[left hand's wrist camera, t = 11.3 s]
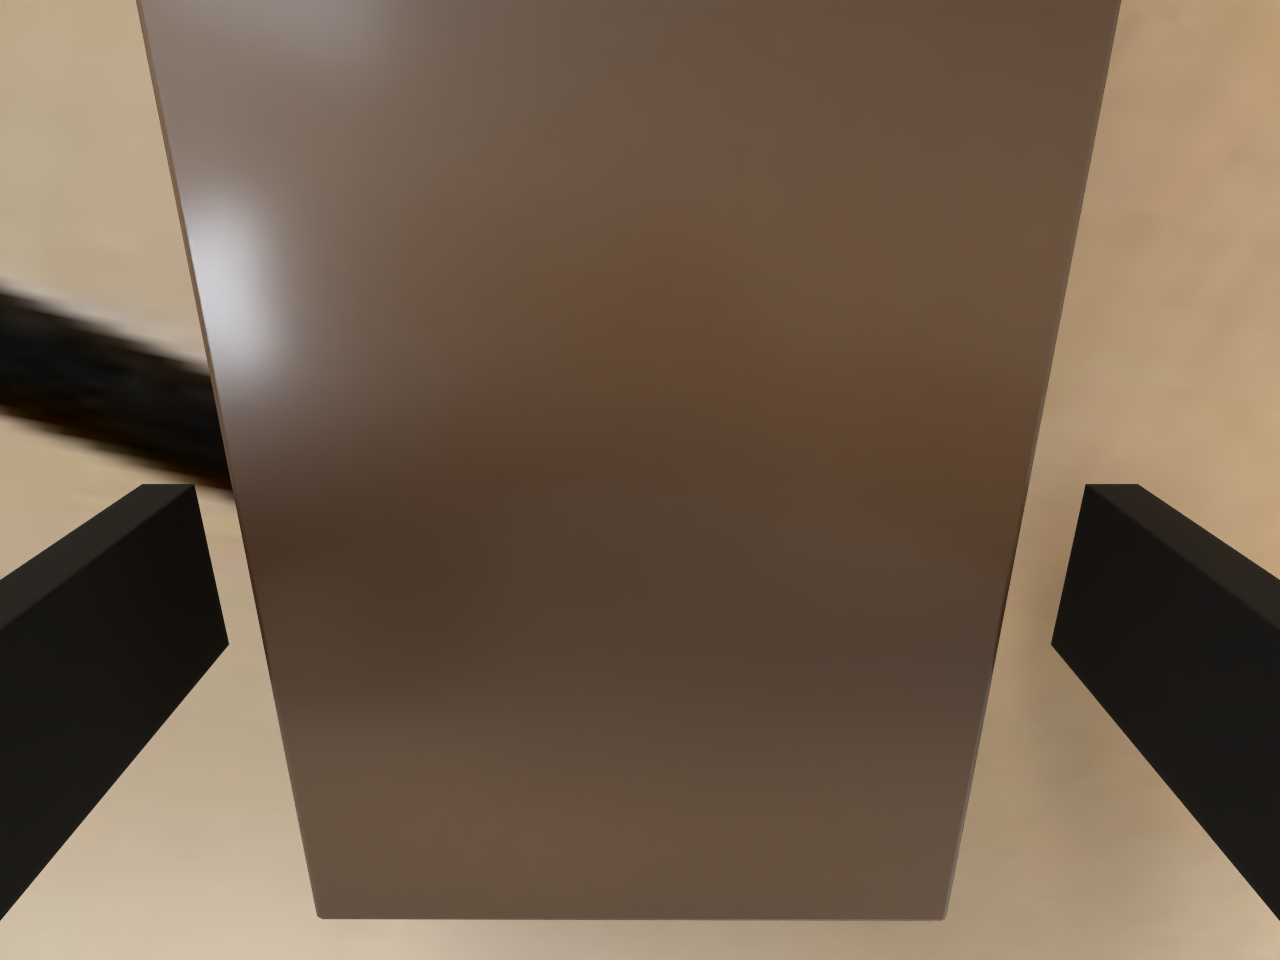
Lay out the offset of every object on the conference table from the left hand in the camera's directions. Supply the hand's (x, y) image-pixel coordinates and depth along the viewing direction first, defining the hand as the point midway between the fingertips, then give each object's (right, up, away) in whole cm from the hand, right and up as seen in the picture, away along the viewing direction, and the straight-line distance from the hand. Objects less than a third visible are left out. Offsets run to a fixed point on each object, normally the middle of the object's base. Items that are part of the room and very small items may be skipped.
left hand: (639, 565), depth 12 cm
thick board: (0, +26, -6) cm, 27 cm away
